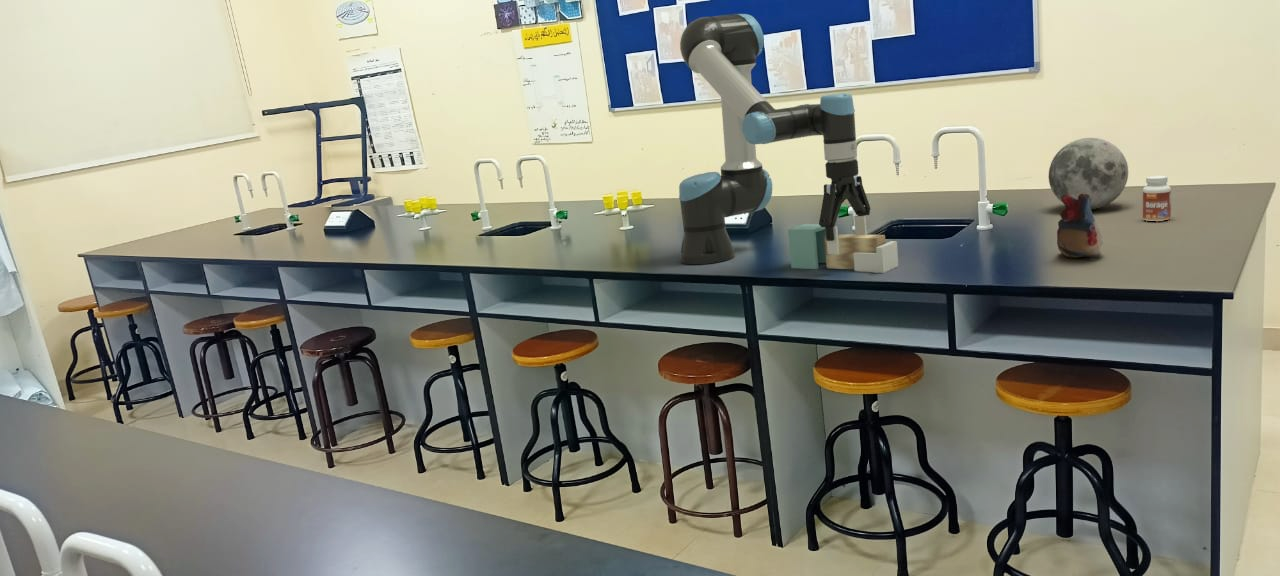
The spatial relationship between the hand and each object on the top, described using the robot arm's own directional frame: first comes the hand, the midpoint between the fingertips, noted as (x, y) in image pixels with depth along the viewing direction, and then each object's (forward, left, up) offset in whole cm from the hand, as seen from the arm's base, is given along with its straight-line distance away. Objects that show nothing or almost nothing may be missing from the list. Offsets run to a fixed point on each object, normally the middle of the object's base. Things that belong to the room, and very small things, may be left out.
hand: (847, 247), depth 222 cm
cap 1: (-11, 0, -5) cm, 12 cm away
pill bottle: (+52, +63, -5) cm, 82 cm away
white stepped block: (+7, 0, -5) cm, 9 cm away
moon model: (+31, +79, -5) cm, 85 cm away
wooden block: (+2, 0, -5) cm, 5 cm away
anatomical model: (+47, +19, -5) cm, 51 cm away
